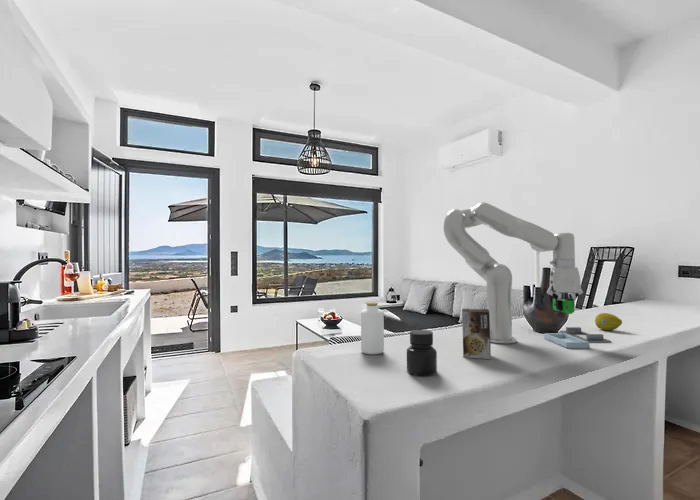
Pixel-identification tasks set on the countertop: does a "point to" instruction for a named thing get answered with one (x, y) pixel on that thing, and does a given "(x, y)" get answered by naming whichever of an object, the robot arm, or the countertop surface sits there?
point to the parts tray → (566, 340)
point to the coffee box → (476, 333)
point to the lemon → (607, 321)
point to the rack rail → (589, 337)
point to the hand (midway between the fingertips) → (565, 309)
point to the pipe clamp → (565, 306)
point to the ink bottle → (421, 354)
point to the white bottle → (372, 329)
